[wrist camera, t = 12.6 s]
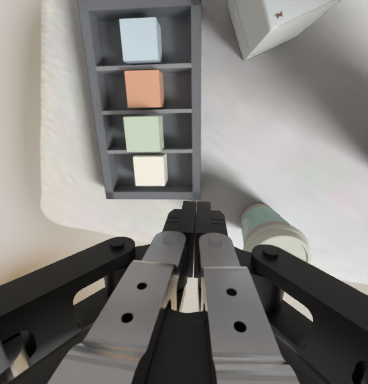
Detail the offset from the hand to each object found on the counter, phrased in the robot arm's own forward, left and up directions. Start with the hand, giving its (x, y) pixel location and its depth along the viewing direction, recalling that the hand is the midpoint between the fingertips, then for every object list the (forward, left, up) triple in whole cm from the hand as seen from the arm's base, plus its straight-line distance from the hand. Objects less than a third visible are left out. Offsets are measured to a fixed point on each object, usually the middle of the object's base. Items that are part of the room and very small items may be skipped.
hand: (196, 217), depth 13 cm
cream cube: (+7, +3, -24) cm, 25 cm away
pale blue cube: (+7, -14, -24) cm, 28 cm away
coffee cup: (-10, +12, -25) cm, 30 cm away
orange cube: (+7, -8, -24) cm, 26 cm away
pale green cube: (+7, -3, -21) cm, 23 cm away
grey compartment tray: (+7, -6, -25) cm, 26 cm away
